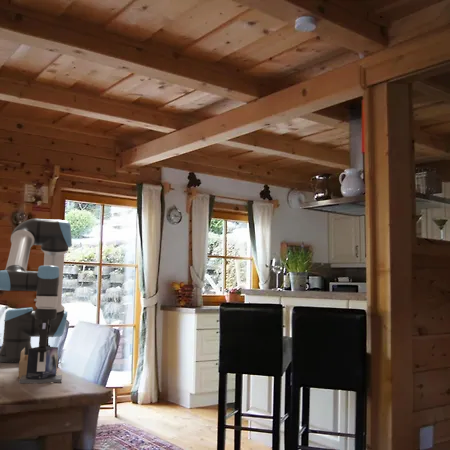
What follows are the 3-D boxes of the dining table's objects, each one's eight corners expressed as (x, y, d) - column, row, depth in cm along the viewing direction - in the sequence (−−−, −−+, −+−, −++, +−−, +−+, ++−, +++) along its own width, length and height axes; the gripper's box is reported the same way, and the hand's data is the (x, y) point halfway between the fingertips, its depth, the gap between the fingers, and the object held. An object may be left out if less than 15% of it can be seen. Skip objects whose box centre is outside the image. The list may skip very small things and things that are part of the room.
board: (21, 378, 199) (22, 375, 200) (61, 378, 203) (62, 374, 203) (19, 383, 190) (19, 379, 190) (61, 382, 193) (61, 379, 194)
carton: (22, 370, 219) (24, 347, 220) (56, 370, 222) (58, 347, 223) (18, 377, 201) (20, 352, 202) (55, 377, 204) (56, 352, 205)
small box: (42, 380, 191) (44, 349, 192) (25, 378, 192) (27, 348, 193) (57, 375, 201) (59, 346, 202) (40, 374, 202) (42, 345, 204)
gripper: (37, 306, 210) (33, 364, 207) (32, 309, 187) (28, 373, 184) (57, 307, 212) (54, 364, 209) (55, 309, 189) (51, 373, 186)
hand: (42, 368), depth 197 cm, fingers open, 12 cm apart
